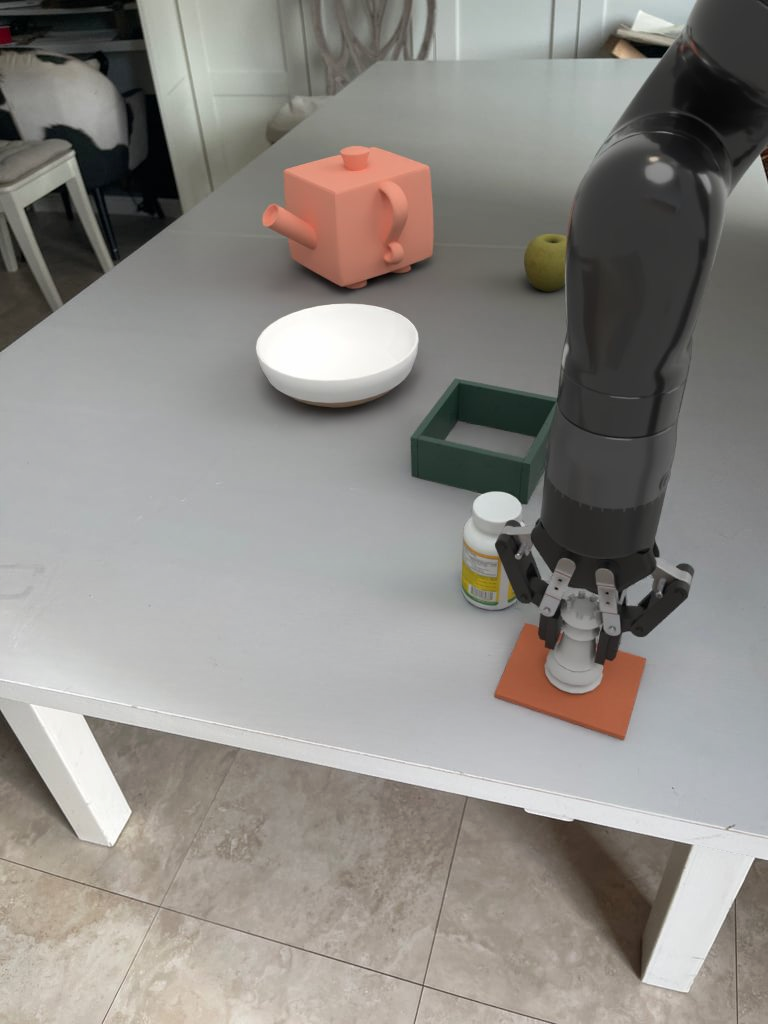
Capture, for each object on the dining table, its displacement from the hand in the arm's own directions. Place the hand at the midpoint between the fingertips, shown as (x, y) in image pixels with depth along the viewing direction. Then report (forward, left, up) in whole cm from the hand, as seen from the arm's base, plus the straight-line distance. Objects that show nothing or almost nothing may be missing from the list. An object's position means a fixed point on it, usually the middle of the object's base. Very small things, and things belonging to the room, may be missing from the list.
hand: (576, 647), depth 61 cm
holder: (+16, -26, -4) cm, 31 cm away
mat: (0, 0, -4) cm, 4 cm away
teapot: (+53, -64, -4) cm, 83 cm away
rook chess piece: (0, 0, -3) cm, 3 cm away
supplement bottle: (+9, -7, -4) cm, 12 cm away
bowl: (+38, -34, -4) cm, 51 cm away
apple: (+22, -70, -4) cm, 73 cm away
